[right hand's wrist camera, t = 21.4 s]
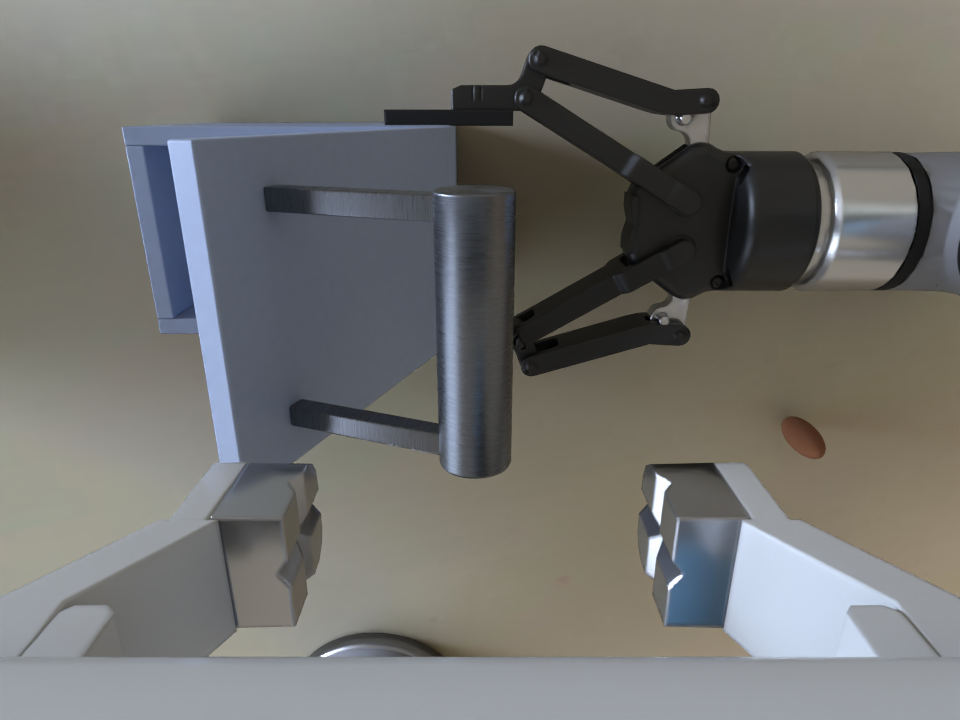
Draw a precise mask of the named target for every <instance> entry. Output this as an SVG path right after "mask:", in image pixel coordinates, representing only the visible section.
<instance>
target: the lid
mask: <svg viewBox="0 0 960 720" xmlns="http://www.w3.org/2000/svg"><path fill="white" fill-rule="evenodd" d="M168 148H169V154H170V160H171V166H172V173H173V179H174V185H175V191H176V197H177V203H178V209H179V215H180V221H181V227H182V233H183V240H184V246H185V252H186V258H187V264H188V270H189V276H190V282H191V288H192V294H193V301H194V307H195V313H196V319H197V325H198V331H199V337H200V343H201V349H202V355H203V361H204V368H205V374H206V380H207V386H208V392H209V398H210V404H211V410H212V416H213V422H214V428H215V435H216V441H217V447H218V453H219V459H220V463H233V462H247V463H287V464H292V463H293V462H295V461H296V460H297V459H299V458H300V457H301V456H302V455H304V454H305V453H306V452H308V451H309V450H310V449H312V448H313V447H314V446H316V445H317V444H318V443H320V442H321V441H322V440H324V439H325V438H326V437H328V436H329V435H330V434H332V433H333V434H338V435H343V436H348V437H353V438H358V439H363V440H368V441H372V442H377V443H382V444H387V445H392V446H397V447H402V448H407V449H412V450H417V451H422V452H427V453H432V454H437V455H440V463H441V465H442V467H443V468H444V469H445V470H446V471H447V472H449V473H451V474H453V475H456V476H459V477H464V478H474V479H476V478H487V477H491V476H495V475H497V474H499V473H501V472H503V471H504V470H506V469H507V468H508V466H509V464H510V462H511V433H512V377H513V322H514V266H515V211H516V192H515V190H514V189H512V188H510V187H505V186H495V185H456V158H455V127H454V126H437V127H416V128H394V129H373V130H352V131H331V132H310V133H288V134H267V135H246V136H225V137H204V138H182V139H170V140H168ZM436 354H437V378H438V416H439V424H438V423H433V422H427V421H422V420H416V419H411V418H405V417H400V416H394V415H389V414H383V413H378V412H372V411H367V410H363V409H365V408H366V407H367V406H369V405H370V404H371V403H372V402H374V401H375V400H376V399H378V398H379V397H380V396H382V395H383V394H384V393H386V392H387V391H388V390H390V389H391V388H392V387H394V386H395V385H396V384H398V383H399V382H400V381H402V380H403V379H404V378H405V377H407V376H408V375H409V374H411V373H412V372H413V371H415V370H416V369H417V368H419V367H420V366H421V365H423V364H424V363H425V362H427V361H428V360H429V359H431V358H432V357H433V356H435V355H436Z"/></svg>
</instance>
